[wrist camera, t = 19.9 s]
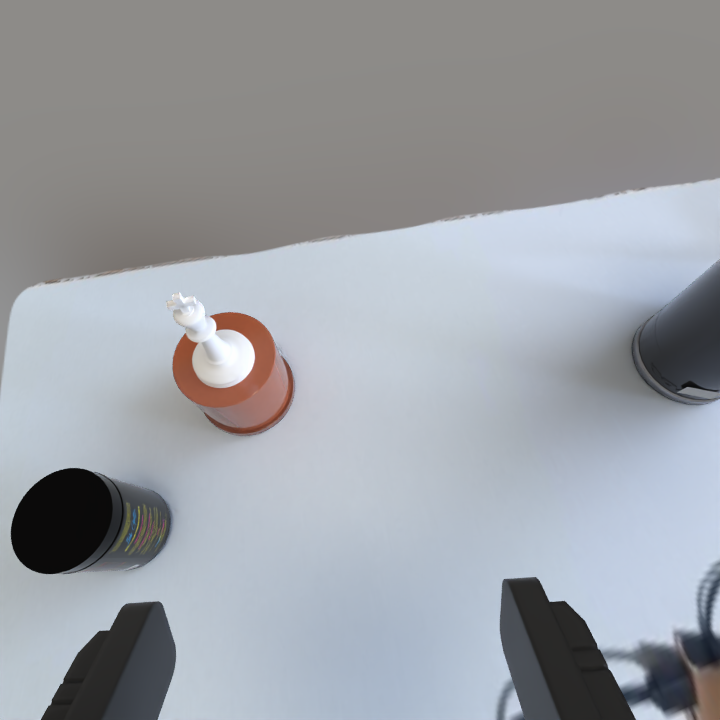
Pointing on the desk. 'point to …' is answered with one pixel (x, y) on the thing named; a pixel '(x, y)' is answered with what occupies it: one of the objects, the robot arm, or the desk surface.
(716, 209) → the desk surface
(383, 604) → the desk surface
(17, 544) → the supplement container
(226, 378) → the chess piece
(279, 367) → the upturned cup
